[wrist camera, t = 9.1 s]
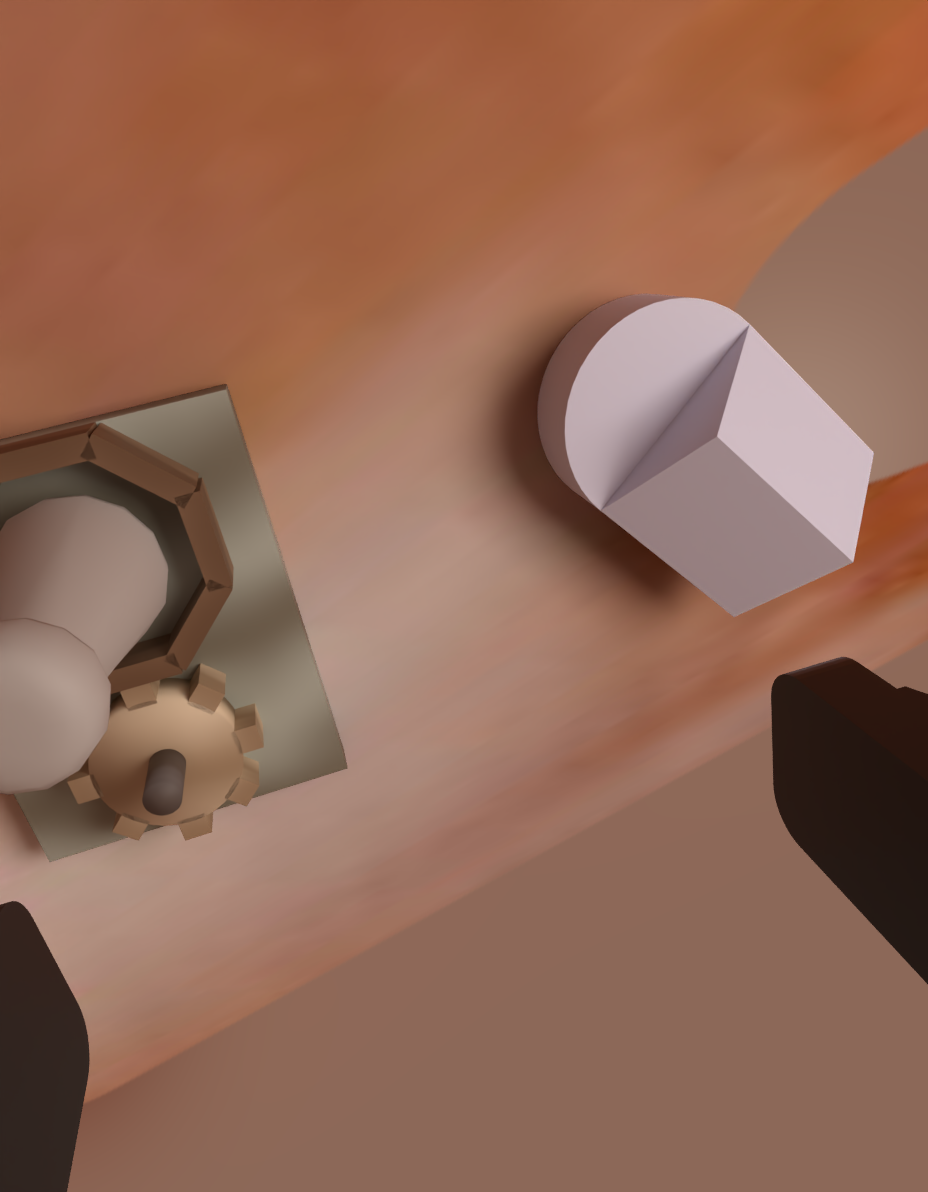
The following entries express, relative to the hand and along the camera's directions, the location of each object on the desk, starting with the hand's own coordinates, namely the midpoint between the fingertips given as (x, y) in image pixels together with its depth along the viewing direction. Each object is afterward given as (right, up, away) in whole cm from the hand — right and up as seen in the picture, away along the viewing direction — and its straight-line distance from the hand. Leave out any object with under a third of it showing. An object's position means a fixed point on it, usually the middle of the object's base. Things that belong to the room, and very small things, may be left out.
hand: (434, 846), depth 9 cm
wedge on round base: (+9, +10, +28) cm, 31 cm away
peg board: (-13, +1, +25) cm, 29 cm away
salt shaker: (-14, +4, +23) cm, 27 cm away
